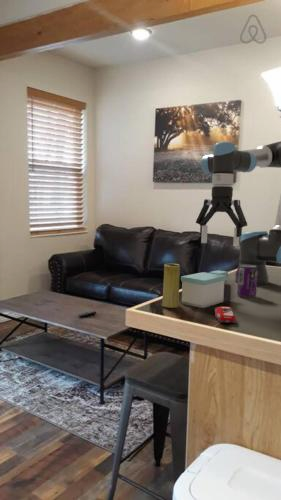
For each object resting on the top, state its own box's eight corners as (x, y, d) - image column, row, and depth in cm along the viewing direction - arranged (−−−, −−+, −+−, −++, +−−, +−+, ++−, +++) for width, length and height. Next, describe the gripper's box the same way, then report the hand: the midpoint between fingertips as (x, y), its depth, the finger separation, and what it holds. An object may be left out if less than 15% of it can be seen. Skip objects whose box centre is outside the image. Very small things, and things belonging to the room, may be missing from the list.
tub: (202, 297, 153) (203, 276, 152) (223, 301, 147) (224, 280, 146) (181, 303, 143) (182, 281, 142) (202, 308, 137) (203, 284, 136)
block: (211, 278, 157) (211, 269, 157) (234, 281, 150) (234, 272, 150) (180, 284, 142) (180, 275, 142) (204, 289, 136) (204, 279, 135)
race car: (213, 313, 132) (213, 301, 132) (230, 314, 132) (230, 302, 132) (217, 325, 119) (218, 311, 119) (236, 326, 119) (237, 312, 118)
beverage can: (256, 299, 152) (258, 267, 151) (237, 297, 154) (238, 266, 152) (255, 295, 159) (257, 264, 158) (236, 293, 160) (238, 263, 159)
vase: (181, 304, 141) (182, 264, 140) (177, 308, 136) (178, 266, 134) (164, 302, 143) (165, 262, 142) (159, 307, 138) (160, 265, 136)
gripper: (188, 186, 153) (186, 242, 155) (248, 185, 136) (245, 248, 139) (199, 187, 158) (197, 241, 161) (259, 186, 142) (255, 246, 144)
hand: (219, 244), depth 150 cm, fingers open, 13 cm apart
